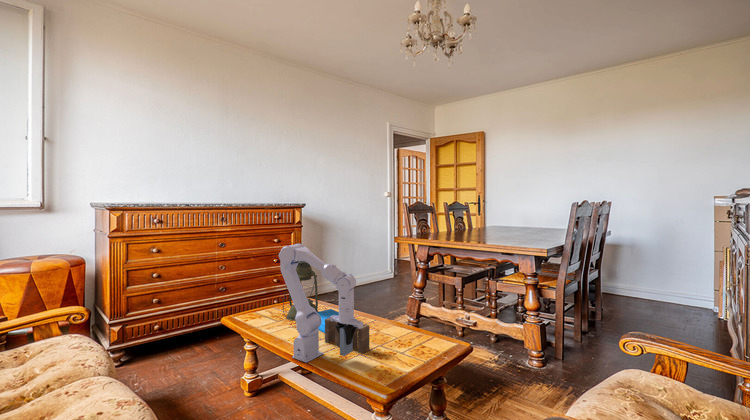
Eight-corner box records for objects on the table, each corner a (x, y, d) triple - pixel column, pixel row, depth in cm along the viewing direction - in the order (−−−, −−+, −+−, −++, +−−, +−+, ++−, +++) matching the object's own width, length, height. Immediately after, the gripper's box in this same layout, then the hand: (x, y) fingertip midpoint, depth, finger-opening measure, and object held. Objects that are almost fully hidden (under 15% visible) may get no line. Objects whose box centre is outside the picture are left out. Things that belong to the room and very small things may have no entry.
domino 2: (346, 342, 151) (346, 319, 151) (339, 346, 147) (338, 322, 147) (343, 341, 152) (343, 318, 152) (335, 345, 148) (335, 321, 148)
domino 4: (357, 346, 147) (357, 322, 147) (350, 350, 143) (350, 325, 143) (354, 344, 149) (353, 321, 148) (346, 349, 144) (346, 324, 144)
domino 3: (352, 351, 135) (352, 325, 135) (344, 356, 131) (343, 329, 131) (348, 350, 136) (348, 324, 136) (339, 354, 132) (339, 328, 132)
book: (330, 308, 188) (359, 319, 169) (330, 316, 188) (359, 328, 169) (301, 315, 177) (329, 327, 158) (302, 324, 177) (329, 337, 158)
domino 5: (369, 349, 144) (369, 325, 144) (362, 353, 140) (361, 328, 140) (365, 348, 145) (365, 324, 145) (358, 352, 141) (357, 327, 141)
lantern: (328, 314, 190) (327, 258, 189) (305, 323, 175) (305, 263, 175) (300, 308, 201) (299, 256, 200) (276, 317, 186) (275, 260, 185)
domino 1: (336, 339, 154) (336, 317, 154) (328, 343, 150) (328, 320, 150) (332, 338, 156) (332, 316, 155) (324, 342, 151) (324, 319, 151)
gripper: (368, 308, 132) (368, 344, 132) (338, 301, 140) (338, 335, 141) (356, 312, 126) (356, 350, 127) (326, 306, 135) (326, 341, 135)
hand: (346, 343), depth 133 cm, fingers closed on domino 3, 2 cm apart
